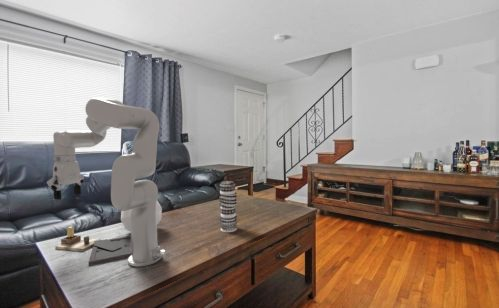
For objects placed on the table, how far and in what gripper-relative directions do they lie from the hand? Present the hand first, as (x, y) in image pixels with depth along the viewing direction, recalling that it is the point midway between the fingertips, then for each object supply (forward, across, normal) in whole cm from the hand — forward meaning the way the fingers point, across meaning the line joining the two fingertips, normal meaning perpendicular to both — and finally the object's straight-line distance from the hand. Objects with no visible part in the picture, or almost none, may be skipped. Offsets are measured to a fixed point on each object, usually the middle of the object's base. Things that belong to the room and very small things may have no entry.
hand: (68, 196), depth 114 cm
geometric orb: (+22, +20, -23) cm, 38 cm away
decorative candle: (+22, +31, -66) cm, 76 cm away
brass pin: (+21, 0, 0) cm, 21 cm away
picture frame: (+23, -1, -24) cm, 33 cm away
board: (+22, 0, -4) cm, 23 cm away
